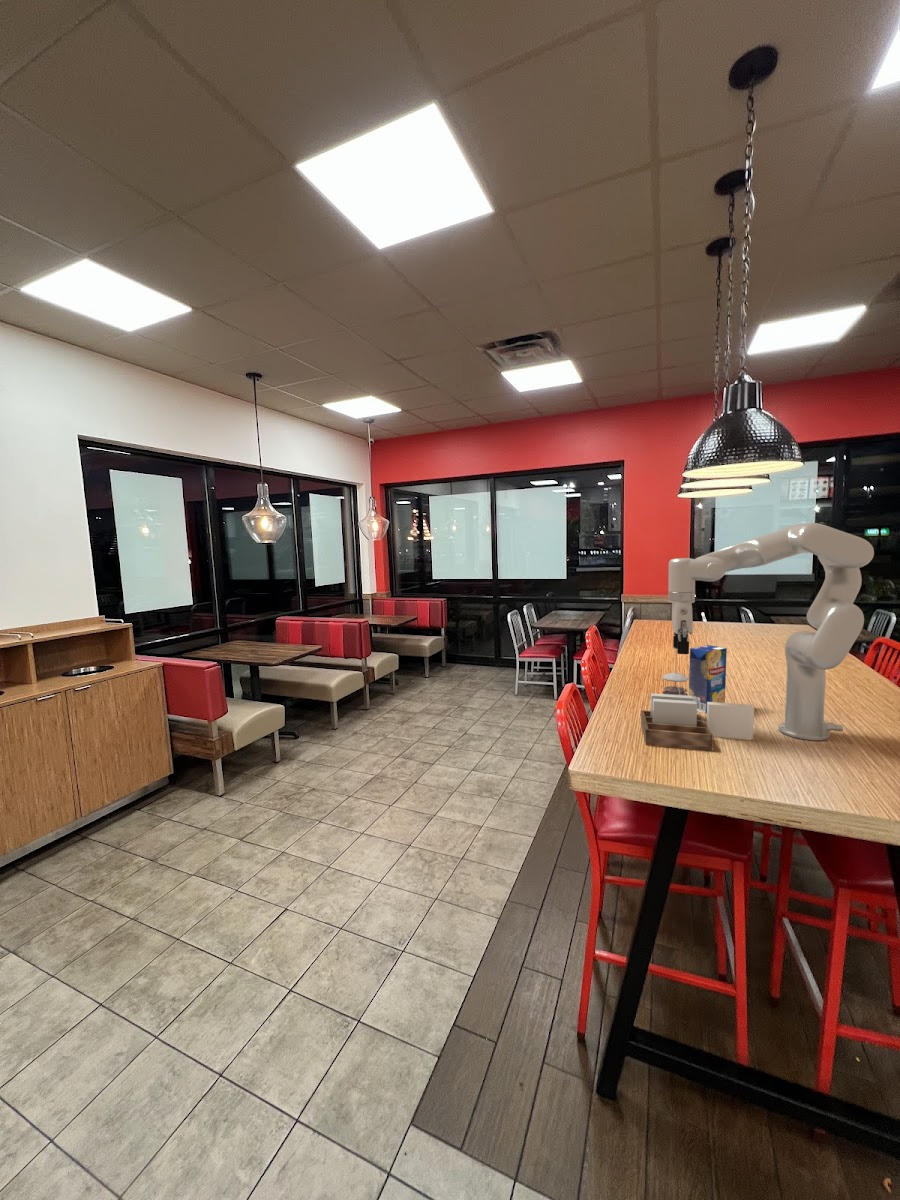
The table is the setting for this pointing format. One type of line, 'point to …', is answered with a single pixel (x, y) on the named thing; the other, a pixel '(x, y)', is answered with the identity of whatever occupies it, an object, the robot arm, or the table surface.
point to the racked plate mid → (674, 712)
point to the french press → (675, 678)
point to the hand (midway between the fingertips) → (680, 650)
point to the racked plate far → (669, 698)
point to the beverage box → (707, 675)
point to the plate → (730, 720)
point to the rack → (676, 734)
